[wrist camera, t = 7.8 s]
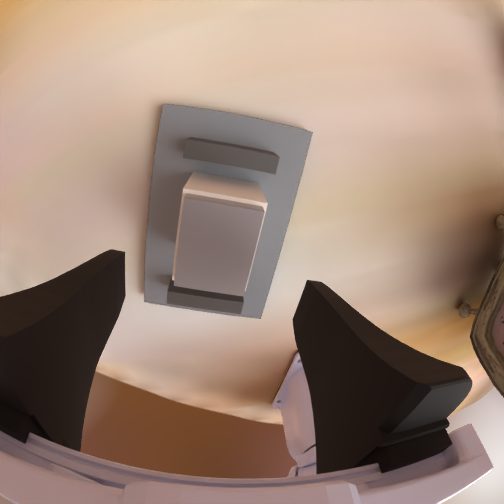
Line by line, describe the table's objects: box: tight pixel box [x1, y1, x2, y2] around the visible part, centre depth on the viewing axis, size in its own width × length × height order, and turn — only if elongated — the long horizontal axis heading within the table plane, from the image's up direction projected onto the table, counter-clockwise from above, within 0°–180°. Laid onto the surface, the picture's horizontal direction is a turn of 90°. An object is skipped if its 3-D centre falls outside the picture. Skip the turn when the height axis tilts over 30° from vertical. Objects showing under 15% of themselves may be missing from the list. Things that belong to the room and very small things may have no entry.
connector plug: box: [172, 172, 268, 296], centre depth 16 cm, size 5×4×5 cm
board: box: [144, 104, 313, 319], centre depth 18 cm, size 14×9×3 cm, turn 168°
